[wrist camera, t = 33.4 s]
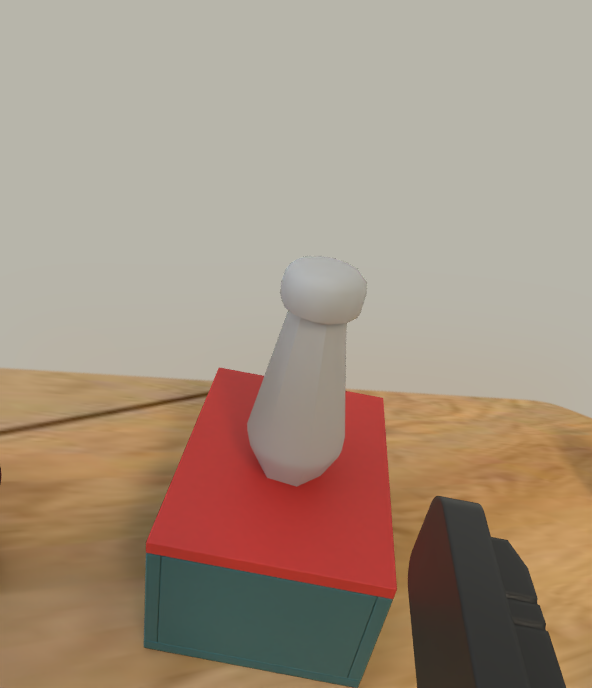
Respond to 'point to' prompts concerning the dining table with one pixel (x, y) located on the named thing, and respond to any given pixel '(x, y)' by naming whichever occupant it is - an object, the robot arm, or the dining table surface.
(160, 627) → the lunchbox
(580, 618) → the dining table surface
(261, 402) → the salt shaker
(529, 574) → the robot arm
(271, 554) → the lid
